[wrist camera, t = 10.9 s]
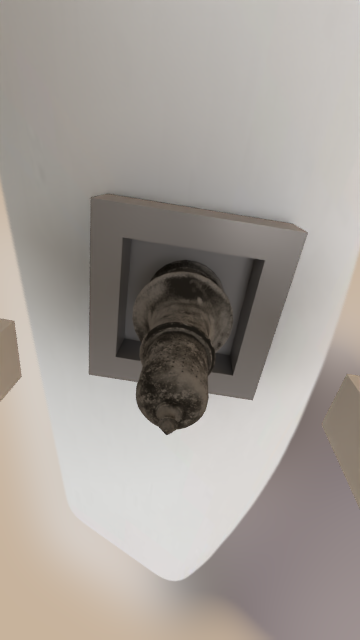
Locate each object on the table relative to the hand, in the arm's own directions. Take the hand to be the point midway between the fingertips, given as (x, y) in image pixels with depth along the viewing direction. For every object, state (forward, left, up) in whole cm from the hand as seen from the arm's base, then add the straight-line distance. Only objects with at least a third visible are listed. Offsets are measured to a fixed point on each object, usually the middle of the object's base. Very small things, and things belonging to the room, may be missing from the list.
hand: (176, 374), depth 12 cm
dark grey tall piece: (0, 0, -9) cm, 10 cm away
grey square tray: (0, 0, -10) cm, 10 cm away
